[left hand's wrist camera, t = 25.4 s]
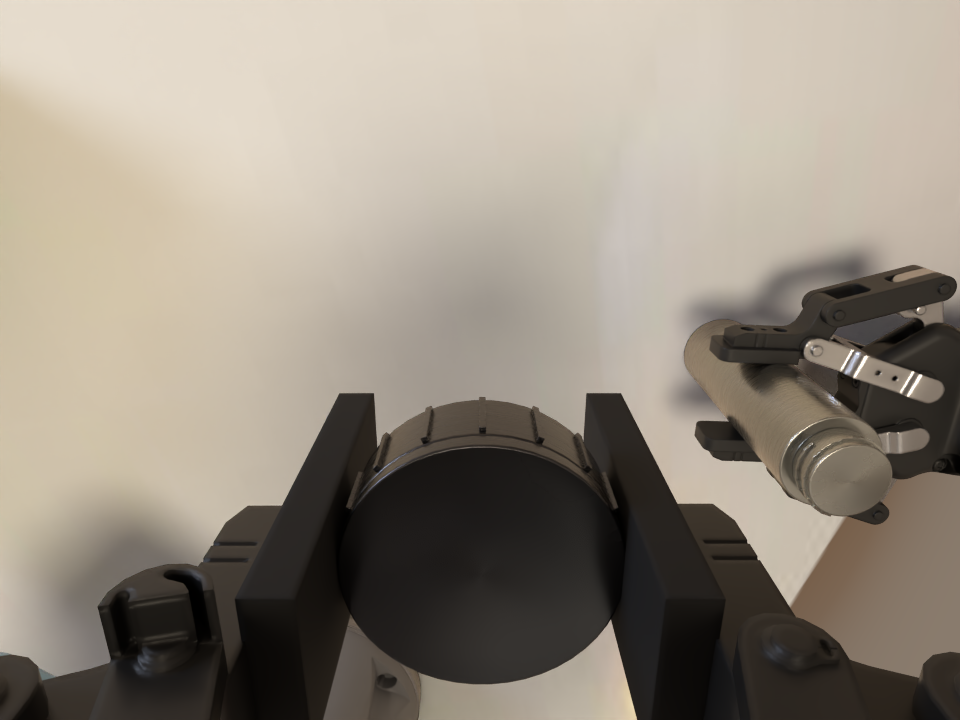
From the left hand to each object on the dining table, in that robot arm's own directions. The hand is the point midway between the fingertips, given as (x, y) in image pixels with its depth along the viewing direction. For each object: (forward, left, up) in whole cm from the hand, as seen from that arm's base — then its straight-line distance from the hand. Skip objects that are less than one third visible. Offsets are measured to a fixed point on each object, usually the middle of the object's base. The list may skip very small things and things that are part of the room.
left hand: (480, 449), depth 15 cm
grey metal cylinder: (-3, -15, -24) cm, 28 cm away
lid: (0, 0, +4) cm, 4 cm away
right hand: (-3, -13, -17) cm, 22 cm away
